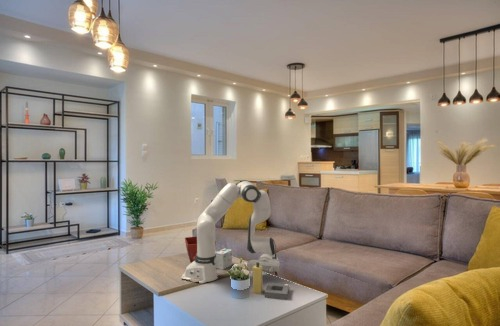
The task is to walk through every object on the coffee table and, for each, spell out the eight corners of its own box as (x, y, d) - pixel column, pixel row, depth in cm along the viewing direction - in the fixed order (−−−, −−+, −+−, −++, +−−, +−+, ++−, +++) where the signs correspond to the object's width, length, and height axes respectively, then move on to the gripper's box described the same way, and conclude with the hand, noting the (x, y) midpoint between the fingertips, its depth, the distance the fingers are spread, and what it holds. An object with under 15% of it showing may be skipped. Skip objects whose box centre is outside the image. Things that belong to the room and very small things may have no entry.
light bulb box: (224, 263, 221) (224, 247, 221) (232, 264, 218) (232, 249, 217) (215, 268, 212) (215, 252, 212) (223, 270, 209) (223, 254, 208)
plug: (253, 292, 176) (253, 263, 175) (254, 289, 180) (254, 261, 179) (261, 293, 175) (261, 264, 174) (262, 290, 179) (262, 261, 178)
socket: (264, 297, 170) (264, 290, 170) (268, 287, 182) (268, 281, 182) (286, 299, 167) (287, 292, 167) (289, 289, 179) (289, 283, 179)
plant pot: (184, 260, 227) (184, 237, 227) (211, 257, 233) (211, 234, 232) (187, 269, 209) (187, 244, 208) (216, 266, 215) (216, 242, 214)
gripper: (249, 256, 202) (244, 263, 189) (281, 258, 198) (278, 266, 184) (249, 265, 203) (244, 274, 189) (281, 268, 198) (278, 277, 185)
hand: (261, 270), depth 187 cm, fingers open, 8 cm apart
